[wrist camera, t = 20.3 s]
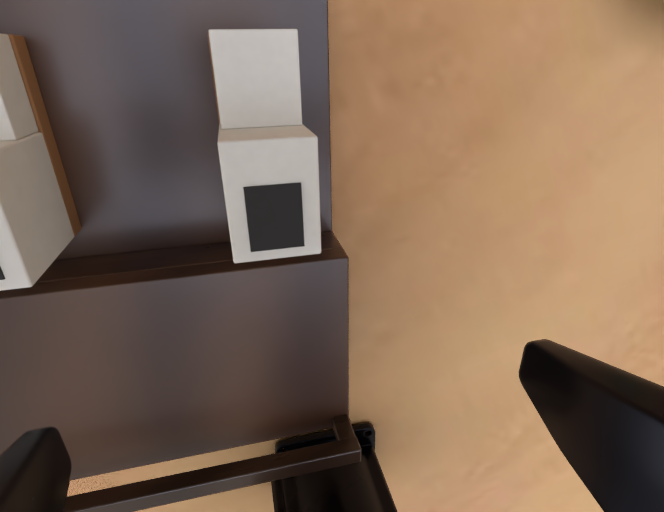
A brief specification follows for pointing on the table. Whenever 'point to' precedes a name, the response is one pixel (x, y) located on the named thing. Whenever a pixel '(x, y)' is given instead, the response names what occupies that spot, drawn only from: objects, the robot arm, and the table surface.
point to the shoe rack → (170, 263)
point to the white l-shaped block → (265, 145)
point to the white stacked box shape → (29, 175)
